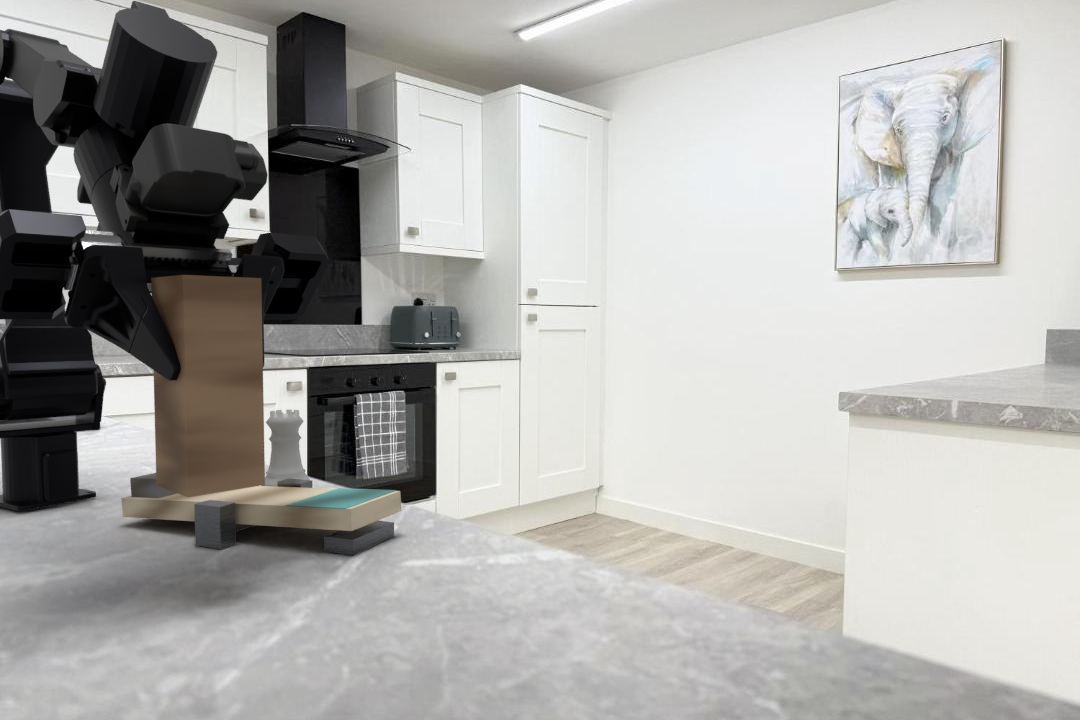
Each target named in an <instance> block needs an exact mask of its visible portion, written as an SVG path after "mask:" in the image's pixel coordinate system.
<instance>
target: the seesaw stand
mask: <svg viewBox="0 0 1080 720" xmlns="http://www.w3.org/2000/svg"><path fill="white" fill-rule="evenodd" d="M277 487H301V488H314V487H313V480H312V479H310V480H302V479H291V478H289V479H285V480H281V481H277ZM194 509H195V521H194V540H195V541H194V543H195V544H194V545H195V546H196V547H203V548H210V549H211V548H212V549H218V550H223V549H226V548H229V547H231V546H234V545H236V544H237V539H236V530H235V503H233V502H224V501H216V500H207V501H204V502H200V503H196V504H194ZM394 537H395V522H394V521H386V520H385V521H384V520H378V521H376V522H373V523H371V524H368V525H366V526H363V527H361V528H358V529H356V530H353V531H343V530H335V532H331V533H329V534H326V535H324V536H323V538H324V539H323V542H324V544H323V545H324V552H327V553H335V554H342V555H349V556H354V555H356V554H359V553H361V552H363V551H365V550H367V549H369V548H372V547H374V546H376V545H378V544H381V543H383V542H386V541H387V540H390V539H392V538H394Z"/></svg>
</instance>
